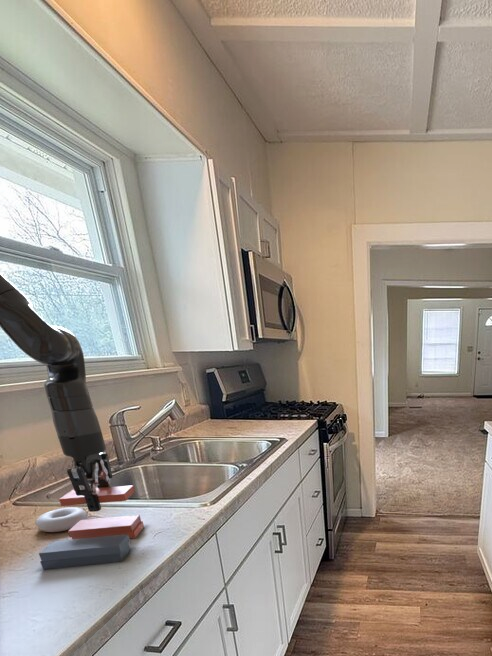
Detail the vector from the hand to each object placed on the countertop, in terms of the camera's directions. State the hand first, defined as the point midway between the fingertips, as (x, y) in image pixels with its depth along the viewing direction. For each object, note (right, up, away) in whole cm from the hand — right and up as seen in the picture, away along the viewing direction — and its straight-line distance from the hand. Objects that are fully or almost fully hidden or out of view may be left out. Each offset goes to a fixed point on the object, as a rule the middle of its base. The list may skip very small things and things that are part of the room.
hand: (101, 504), depth 90 cm
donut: (-15, -5, +8) cm, 17 cm away
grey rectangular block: (+3, -11, -7) cm, 14 cm away
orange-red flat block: (0, -7, +3) cm, 8 cm away
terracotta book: (0, +1, -1) cm, 2 cm away
